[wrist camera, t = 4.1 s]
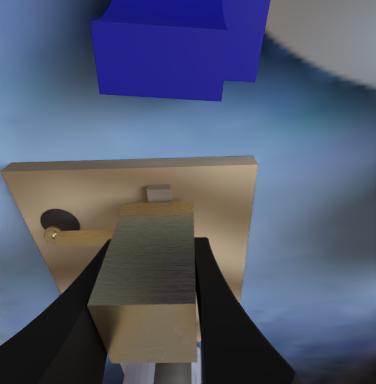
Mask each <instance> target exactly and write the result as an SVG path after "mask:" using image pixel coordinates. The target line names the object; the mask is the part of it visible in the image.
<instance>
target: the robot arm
mask: <svg viewBox="0 0 376 384" xmlns="http://www.w3.org/2000/svg"><path fill="white" fill-rule="evenodd" d="M110 241H111V239H109V240H107V242H106V243H105V244H104V245H103V247H102V248H101V249H100V251H99V252H98V253H97V254H96V256H95V257H94V258H93V259H92V261H91V262H90V263H89V264H88V265H87V266H86V268H85V269H84V270H83V271H82V272H81V274H80V275H79V276H78V277H77V278H76V279H75V280H74V281H73V282H72V283H71V285H70V286H69V287H68V288H67V289H66V290H65V291H64V292H63V293H62V294H61V295H60V296H59V297H58V298H57V299H56V300H55V301H54V302H53V303H52V304H51V305H50V306H49V307H48V308H47V309H45V310H44V311H43V312H42V313H41V314H40V315H39V316H37V317H36V318H35V319H34V320H33V321H32V322H30V323H29V324H28V325H27V326H26V327H24V328H23V329H22V330H21V331H19V332H18V333H17V334H16V335H14V336H13V337H12V338H10V339H9V340H8V341H6V342H5V343H4V344H2V345H1V346H0V384H102V380H103V374H104V369H105V363H106V358H107V351H106V349H105V346H104V344H103V342H102V339H101V337H100V335H99V332H98V330H97V328H96V325H95V323H94V321H93V318H92V316H91V314H90V311H89V309H88V307H87V305H88V302H89V299H90V296H91V293H92V291H93V288H94V285H95V282H96V280H97V277H98V274H99V271H100V269H101V266H102V263H103V260H104V258H105V255H106V252H107V249H108V247H109V244H110ZM194 249H195V285H196V298H197V307H198V315H199V324H200V333H201V352H202V381H203V384H302V382H301V380H300V378H299V377H298V375H297V373H296V371H295V370H294V369H293V368H292V367H291V366H290V365H289V364H288V363H287V362H286V360H285V359H284V358H283V357H282V356H281V355H280V354H279V353H278V352H277V351H276V350H275V348H274V347H273V346H272V345H271V344H270V343H269V341H268V340H267V339H266V338H265V337H264V335H263V334H262V333H261V332H260V330H259V329H258V328H257V327H256V325H255V324H254V323H253V321H252V320H251V319H250V318H249V316H248V315H247V313H246V312H245V310H244V309H243V308H242V306H241V305H240V303H239V302H238V300H237V299H236V297H235V295H234V294H233V292H232V291H231V289H230V287H229V285H228V284H227V282H226V280H225V278H224V276H223V274H222V272H221V270H220V268H219V266H218V264H217V262H216V260H215V257H214V255H213V252H212V249H211V246H210V243H209V239H208V238H207V237H194ZM120 365H121V367H122V370H123V372H124V380H123V384H153V383H154V373H155V363H120ZM192 384H201V369H200V348H199V347H197V362H192Z"/></svg>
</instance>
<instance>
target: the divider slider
mask: <svg viewBox="0 0 376 384" xmlns="http://www.w3.org/2000/svg"><path fill="white" fill-rule="evenodd" d="M44 239H45V241H46V242H48V243H50V244H56V243H58V245H59V247H84V246H103V245H104V244H105V243H106V242H107V240H109V239H111V241H110V244H109V247H108V249H107V252H106V255H105V258H104V260H103V263H102V266H101V269H100V271H99V274H98V277H97V280H96V282H95V285H94V288H93V291H92V293H91V296H90V299H89V302H88V305H87V307H88V309H89V311H90V314H91V316H92V318H93V321H94V323H95V325H96V328H97V330H98V332H99V335H100V337H101V339H102V342H103V344H104V346H105V349H106V351H107V353H108V356H109V358H110V360H111V363H190V362H197V325H196V285H195V249H194V206H193V202H164V203H124V205H123V208H122V211H121V214H120V216H119V219H118V222H117V225H116V227H115V230H82V231H63V229H62V228H61V227H59V226H50V227H48V228H47V229H46V230H45V232H44Z"/></svg>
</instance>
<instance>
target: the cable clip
mask: <svg viewBox="0 0 376 384" xmlns="http://www.w3.org/2000/svg"><path fill="white" fill-rule="evenodd" d="M269 5H270V0H112V1H111V3H110V5H109V7H108V9H107V11H106V12H105V13H104V15H103V16H102V17H100V18H99V19H97V20H91V21H90V22H91V30H92V38H93V45H94V53H95V61H96V69H97V77H98V85H99V93H100V94H106V95H123V96H139V97H156V98H172V99H188V100H205V101H221V99H222V91H223V83H224V80H228V81H243V82H255V79H256V74H257V68H258V63H259V58H260V53H261V47H262V42H263V37H264V31H265V26H266V21H267V15H268V10H269Z"/></svg>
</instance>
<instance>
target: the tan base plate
mask: <svg viewBox="0 0 376 384" xmlns="http://www.w3.org/2000/svg"><path fill="white" fill-rule="evenodd" d="M257 168H258V164H257V162H256V160H255V158H254V156H234V157H199V158H165V159H130V160H96V161H61V162H27V163H11V164H10V165H9V166H7V167H6V168H5V169H4V170H2V171H1V174H2V176H3V178H4V180H5V182H6V184H7V186H8V188H9V190H10V192H11V194H12V196H13V198H14V200H15V202H16V204H17V206H18V208H19V210H20V212H21V214H22V216H23V218H24V220H25V222H26V224H27V226H28V228H29V230H30V232H31V234H32V236H33V238H34V240H35V242H36V244H37V246H38V248H39V250H40V252H41V254H42V256H43V258H44V260H45V262H46V264H47V266H48V268H49V270H50V272H51V274H52V276H53V278H54V280H55V282H56V284H57V286H58V288H59V290H60V292H61V294H62V293H63V292H64V291H65V290H66V289H67V288H68V287H69V286H70V285H71V283H72V282H73V281H74V280H75V279H76V278H77V277H78V276H79V275H80V274H81V272H82V271H83V270H84V269H85V268H86V266H87V265H88V264H89V263H90V262H91V261H92V259H93V258H94V257H95V256H96V254H97V253H98V252H99V251H100V249H101V248H102V247H103V246H84V247H59V245H58V243H56V244H50V243H48V242H46V241H45V239H44V232H45V230H46V229H47V228H48V227H50V226H59V227H61V228H62V229H63V231H82V230H115V227H116V225H117V222H118V219H119V216H120V214H121V211H122V208H123V205H124V203H164V202H193V206H194V237H207V238H208V239H209V243H210V246H211V249H212V252H213V255H214V257H215V260H216V262H217V264H218V266H219V268H220V270H221V272H222V274H223V276H224V278H225V280H226V282H227V284H228V285H229V287H230V289H231V291H232V292H233V294H234V295H235V297H236V299H237V300H238V302H239V303H240V298H241V291H242V283H243V275H244V268H245V260H246V252H247V245H248V237H249V229H250V222H251V214H252V206H253V199H254V191H255V183H256V176H257ZM196 325H197V341H201V333H200V324H199V315H198V307H197V298H196ZM153 384H192V362H190V363H155V373H154V383H153Z"/></svg>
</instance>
